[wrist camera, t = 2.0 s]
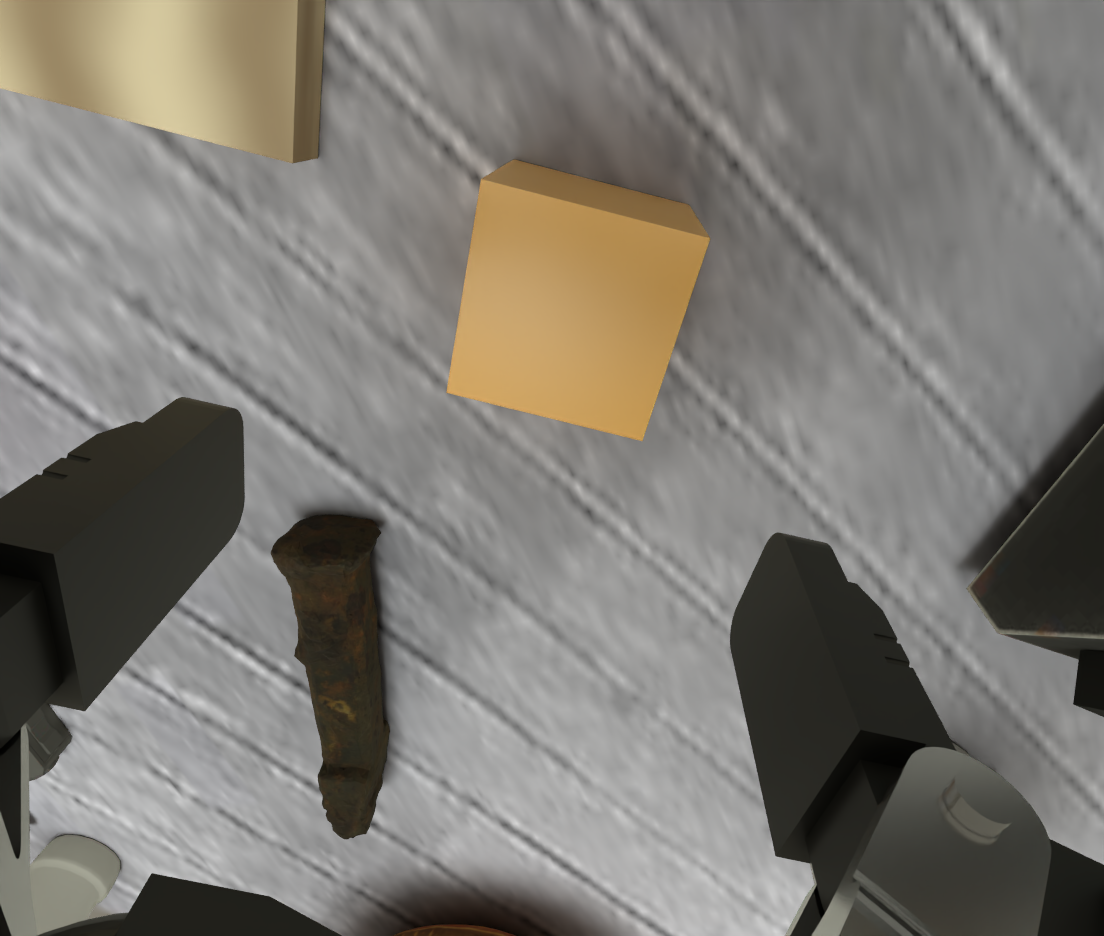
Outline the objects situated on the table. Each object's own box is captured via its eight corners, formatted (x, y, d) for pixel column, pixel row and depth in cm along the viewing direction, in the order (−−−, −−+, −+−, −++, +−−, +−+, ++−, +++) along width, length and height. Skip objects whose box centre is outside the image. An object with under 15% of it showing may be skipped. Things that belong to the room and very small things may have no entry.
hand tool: (299, 501, 30) (249, 565, 26) (387, 512, 30) (351, 578, 26) (330, 772, 39) (297, 849, 35) (397, 781, 39) (372, 860, 35)
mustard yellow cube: (688, 204, 22) (710, 238, 17) (637, 369, 25) (642, 440, 20) (513, 159, 22) (480, 179, 17) (482, 330, 25) (446, 392, 20)
